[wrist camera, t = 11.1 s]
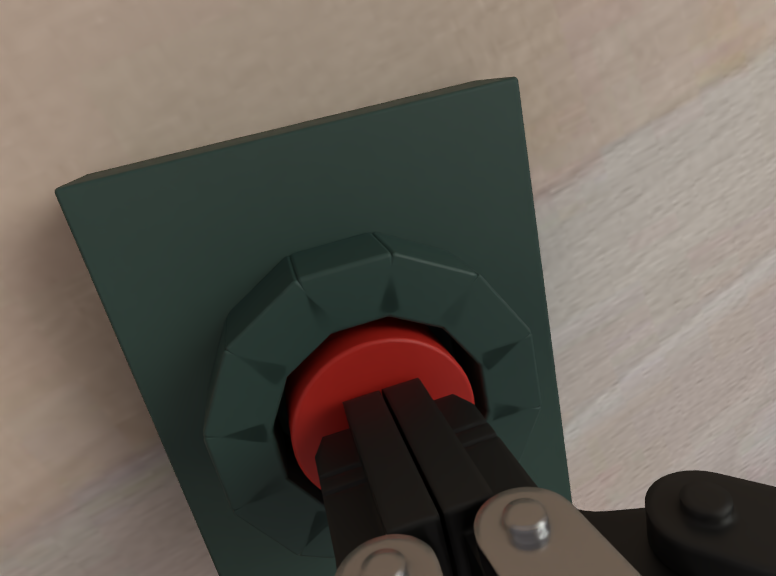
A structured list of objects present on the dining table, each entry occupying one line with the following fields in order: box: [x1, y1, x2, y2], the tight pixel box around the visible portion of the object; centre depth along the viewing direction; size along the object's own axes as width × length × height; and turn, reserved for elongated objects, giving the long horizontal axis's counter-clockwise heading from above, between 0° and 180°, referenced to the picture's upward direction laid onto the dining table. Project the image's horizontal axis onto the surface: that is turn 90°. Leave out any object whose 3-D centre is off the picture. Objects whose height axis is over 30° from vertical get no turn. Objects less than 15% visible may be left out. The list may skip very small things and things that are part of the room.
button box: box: [55, 77, 572, 576], centre depth 13 cm, size 11×9×4 cm
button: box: [285, 317, 475, 490], centre depth 12 cm, size 4×4×2 cm
